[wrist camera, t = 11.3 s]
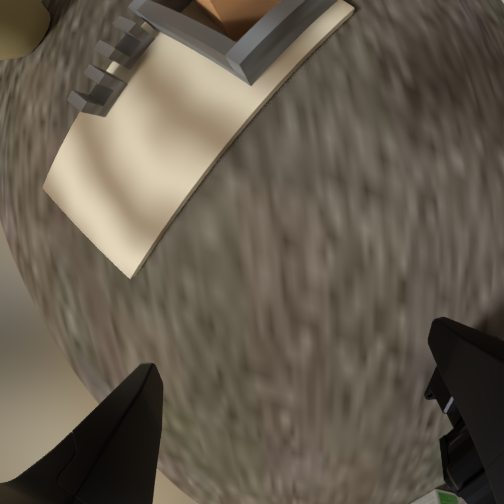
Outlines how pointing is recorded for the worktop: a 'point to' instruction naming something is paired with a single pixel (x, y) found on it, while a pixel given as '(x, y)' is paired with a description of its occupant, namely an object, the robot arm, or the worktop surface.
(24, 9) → the squeeze bottle
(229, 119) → the board
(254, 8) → the plug
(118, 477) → the robot arm
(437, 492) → the skincare box
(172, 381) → the worktop surface
